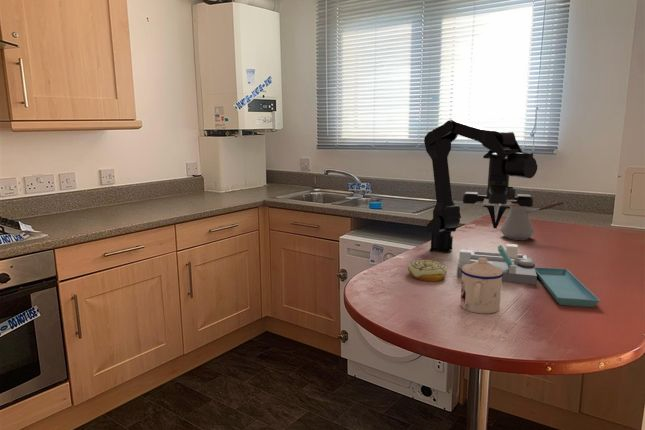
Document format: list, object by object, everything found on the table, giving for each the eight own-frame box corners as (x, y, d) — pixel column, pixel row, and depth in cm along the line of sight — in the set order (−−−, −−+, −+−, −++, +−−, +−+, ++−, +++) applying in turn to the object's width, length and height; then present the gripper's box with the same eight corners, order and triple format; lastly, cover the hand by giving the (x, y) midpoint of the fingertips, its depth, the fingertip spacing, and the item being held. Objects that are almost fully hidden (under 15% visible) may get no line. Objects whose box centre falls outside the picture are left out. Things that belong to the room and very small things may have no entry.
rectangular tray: (531, 273, 136) (532, 265, 135) (566, 275, 134) (567, 267, 133) (556, 307, 111) (557, 297, 110) (599, 310, 109) (600, 300, 108)
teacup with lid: (462, 297, 116) (465, 251, 113) (502, 303, 112) (506, 255, 110) (453, 315, 105) (456, 264, 103) (497, 322, 101) (500, 269, 99)
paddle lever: (511, 272, 127) (497, 251, 128) (510, 267, 132) (497, 246, 132) (516, 269, 127) (502, 248, 127) (515, 264, 131) (501, 244, 132)
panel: (457, 277, 131) (458, 261, 130) (460, 259, 148) (461, 245, 147) (537, 285, 125) (538, 268, 124) (531, 266, 142) (532, 251, 141)
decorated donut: (413, 283, 127) (413, 269, 126) (403, 271, 137) (404, 258, 137) (451, 282, 127) (452, 268, 127) (439, 270, 138) (439, 257, 137)
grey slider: (458, 265, 133) (459, 251, 132) (459, 262, 135) (460, 249, 135) (470, 266, 132) (470, 252, 131) (470, 263, 134) (471, 250, 134)
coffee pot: (496, 238, 176) (499, 198, 173) (504, 233, 185) (506, 194, 182) (560, 246, 164) (564, 203, 161) (564, 240, 174) (568, 199, 171)
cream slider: (506, 259, 139) (507, 246, 138) (505, 256, 142) (506, 243, 141) (517, 260, 138) (518, 247, 137) (516, 257, 141) (517, 244, 140)
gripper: (463, 176, 132) (460, 231, 135) (537, 179, 126) (532, 236, 129) (465, 173, 143) (462, 224, 145) (533, 175, 137) (528, 228, 140)
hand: (495, 228), depth 140 cm, fingers closed
